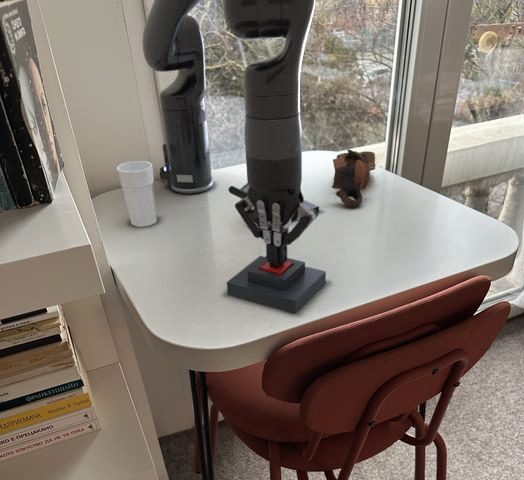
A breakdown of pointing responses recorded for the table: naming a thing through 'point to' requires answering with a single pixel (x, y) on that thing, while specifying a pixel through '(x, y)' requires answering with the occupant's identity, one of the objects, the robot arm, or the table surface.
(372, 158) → the brown curved piece
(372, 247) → the table surface
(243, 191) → the lever
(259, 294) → the control block
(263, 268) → the stop button
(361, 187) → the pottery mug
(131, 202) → the cup
